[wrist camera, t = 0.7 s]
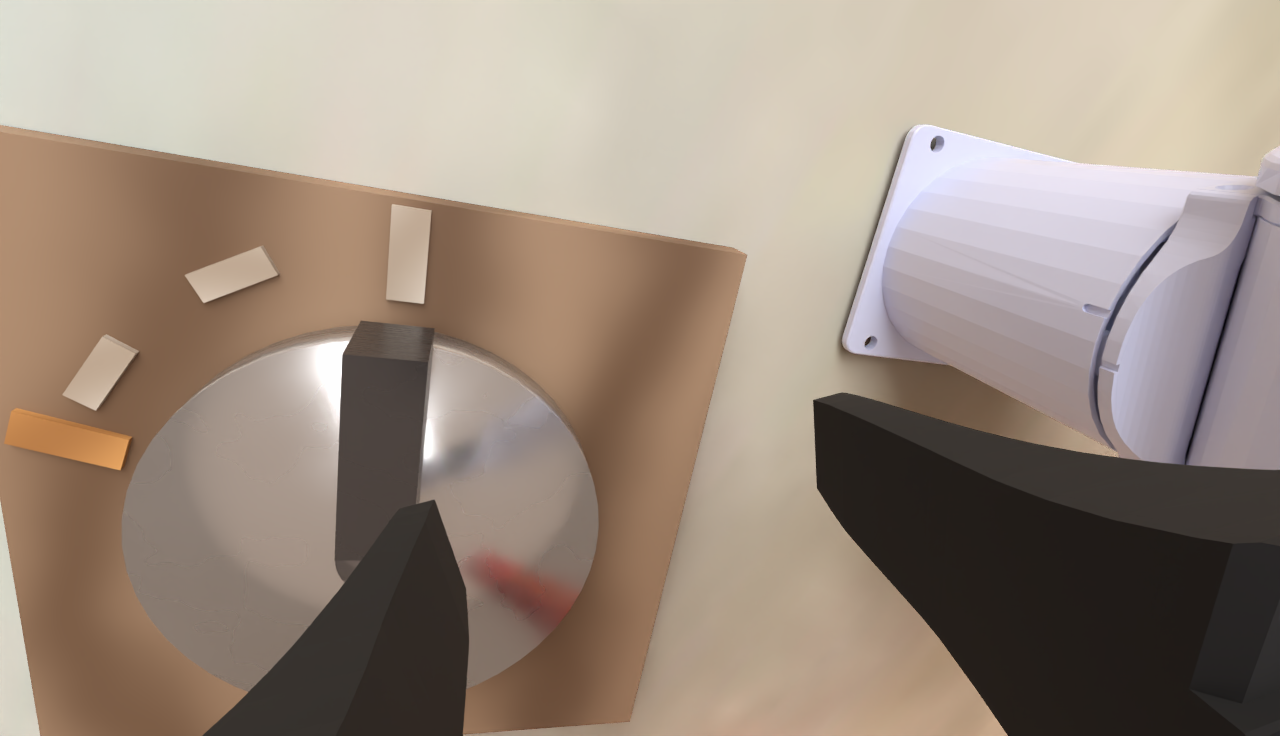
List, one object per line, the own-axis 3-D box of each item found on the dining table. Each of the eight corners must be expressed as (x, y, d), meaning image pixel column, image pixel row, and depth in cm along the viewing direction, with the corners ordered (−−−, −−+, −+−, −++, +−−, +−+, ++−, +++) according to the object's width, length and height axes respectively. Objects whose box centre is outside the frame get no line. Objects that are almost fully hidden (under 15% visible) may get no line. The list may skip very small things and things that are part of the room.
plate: (732, 247, 21) (749, 256, 19) (623, 697, 27) (630, 725, 26) (-25, 121, 15) (-71, 121, 14) (67, 733, 21) (41, 772, 20)
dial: (625, 335, 19) (659, 383, 16) (560, 667, 24) (575, 763, 20) (127, 278, 15) (24, 324, 12) (160, 686, 20) (92, 809, 16)
